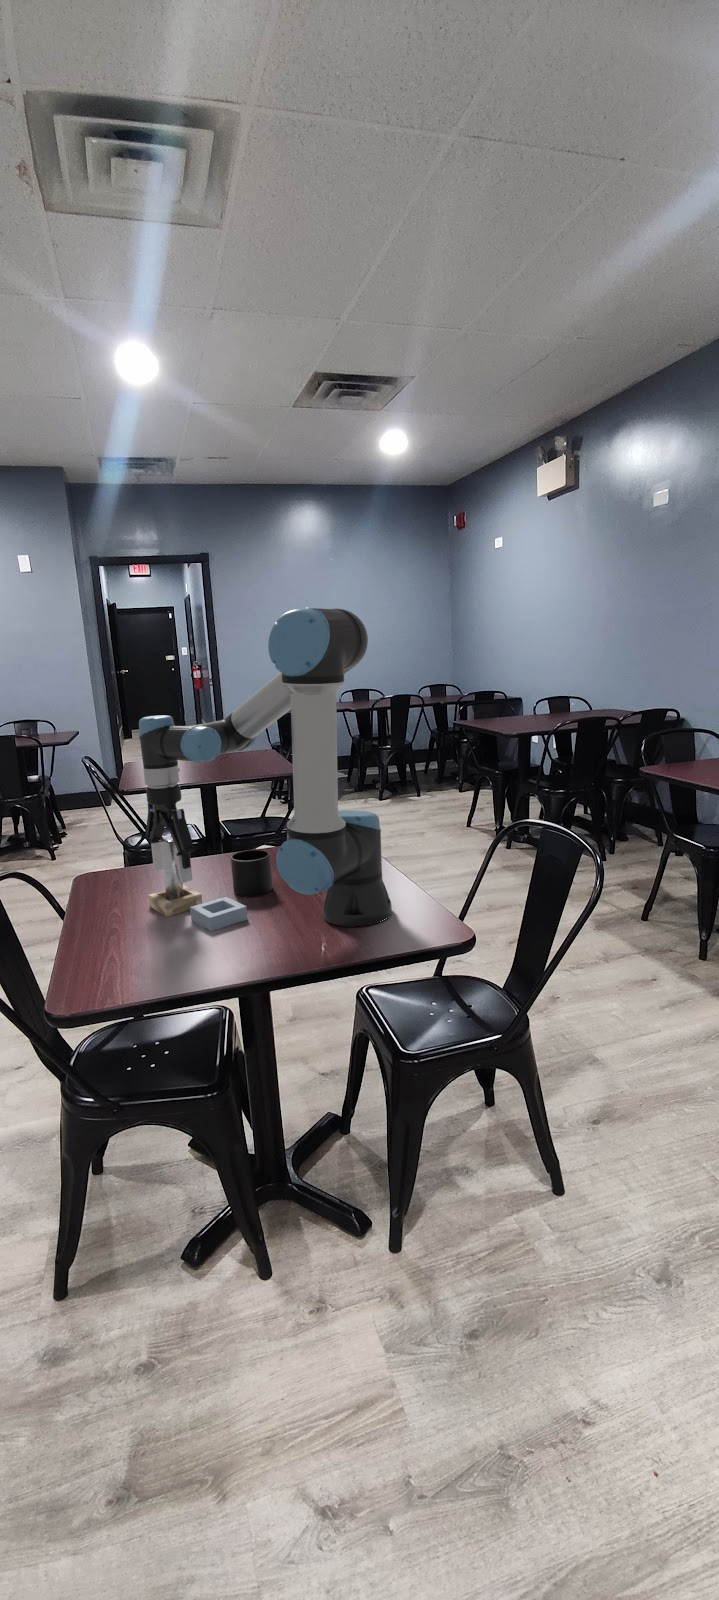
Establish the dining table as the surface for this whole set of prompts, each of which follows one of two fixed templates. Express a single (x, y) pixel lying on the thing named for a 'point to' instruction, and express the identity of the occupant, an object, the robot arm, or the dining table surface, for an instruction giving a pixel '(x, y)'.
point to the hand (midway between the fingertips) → (172, 875)
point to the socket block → (218, 913)
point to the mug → (251, 873)
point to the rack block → (175, 901)
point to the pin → (171, 869)
